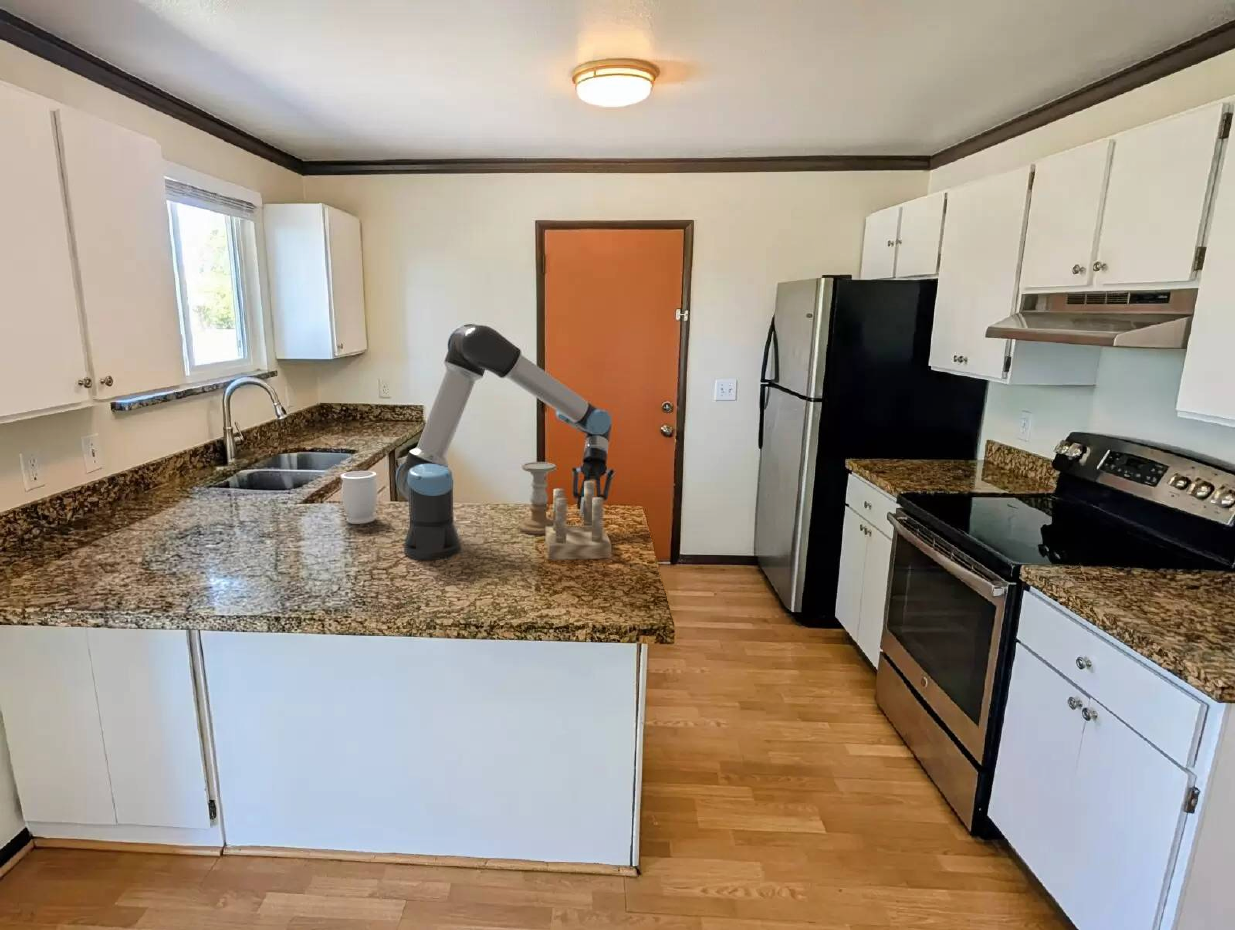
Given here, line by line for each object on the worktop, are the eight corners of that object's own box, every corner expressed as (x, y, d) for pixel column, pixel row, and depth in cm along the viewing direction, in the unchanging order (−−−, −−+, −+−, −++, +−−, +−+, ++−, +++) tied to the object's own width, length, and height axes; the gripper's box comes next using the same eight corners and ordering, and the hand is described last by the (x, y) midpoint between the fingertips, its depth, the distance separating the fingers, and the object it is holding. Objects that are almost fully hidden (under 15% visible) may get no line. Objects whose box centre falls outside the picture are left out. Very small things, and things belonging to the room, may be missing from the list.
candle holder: (542, 537, 198) (542, 471, 193) (510, 529, 204) (510, 465, 200) (566, 527, 208) (567, 464, 204) (535, 520, 214) (535, 459, 210)
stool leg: (583, 534, 202) (585, 483, 198) (582, 531, 205) (583, 480, 202) (594, 534, 202) (595, 483, 199) (593, 530, 205) (594, 480, 202)
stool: (548, 559, 180) (549, 502, 176) (545, 539, 196) (545, 486, 193) (610, 557, 183) (612, 501, 179) (602, 538, 199) (603, 486, 195)
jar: (366, 526, 203) (364, 479, 199) (336, 523, 205) (333, 476, 201) (385, 517, 213) (383, 471, 210) (356, 514, 215) (353, 469, 212)
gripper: (621, 461, 214) (614, 525, 201) (571, 458, 215) (561, 522, 203) (620, 447, 207) (613, 513, 195) (569, 445, 209) (558, 510, 196)
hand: (587, 518), depth 199 cm, fingers closed on stool leg, 3 cm apart
